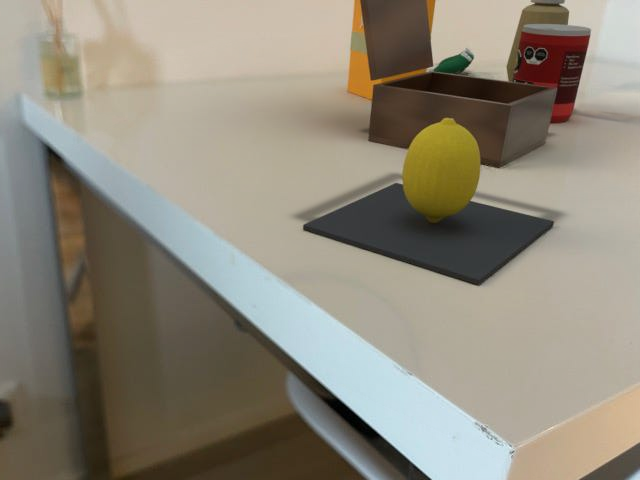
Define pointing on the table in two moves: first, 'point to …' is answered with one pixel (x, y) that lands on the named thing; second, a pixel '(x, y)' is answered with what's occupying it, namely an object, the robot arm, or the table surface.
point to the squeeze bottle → (537, 13)
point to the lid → (396, 36)
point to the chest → (464, 112)
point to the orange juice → (359, 59)
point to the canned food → (553, 62)
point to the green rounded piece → (456, 63)
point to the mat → (433, 233)
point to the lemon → (441, 170)
